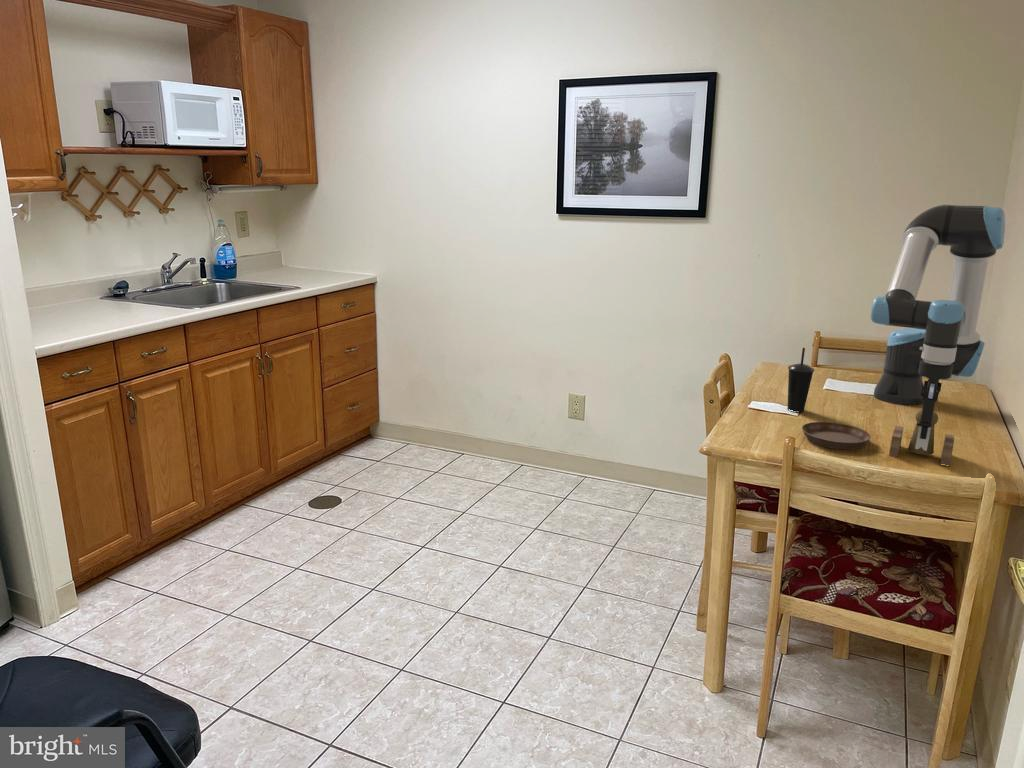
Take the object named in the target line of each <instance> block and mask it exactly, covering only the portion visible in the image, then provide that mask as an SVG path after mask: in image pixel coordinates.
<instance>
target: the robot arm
mask: <svg viewBox="0 0 1024 768" xmlns="http://www.w3.org/2000/svg"><path fill="white" fill-rule="evenodd" d="M1005 214H1006V213H1005V211H1004V209H1003V208H1001V207H996V206H988V205H957V204H956V205H955V204H951V205H950V204H940V205H937V206H932V207H931V208H929V209H927V210H924V211H923V212H921V213H919V214H918V215H917V216H915V218H913V219H912V221H910V222H909V223H908V225H907V227H906V228H905V230H904V232H903V235H902V236H901V237H902V239H901V243H902V249H901V250H900V254H899V257H898V260H897V261H896V265H895V268H894V271H893V273H892V276H891V279H890V281H889V284H888V287H887V290H886V292H885V295H882V296H881V295H879V296H876V297H875V298H874V299H873V302H872V304H871V305H872V306H871V311H870V320H871V322H873V323H874V324H878V325H884V326H887V327H888V326H891V327H892V326H893V327H899V328H901V329H896V330H893V331H891V333H890V334H889V337H888V341H887V343H886V353H885V358H884V363H883V365H884V366H883V371H882V374H881V375H880V376H881V377H880V378H879V380H878V382H877V383H876V385H875V387H874V391H873V396H874V398H877V400H878V399H879V400H880V401H884V402H888V403H892V404H897V405H898V404H899V405H908V406H909V405H910V406H913V405H915V406H917V405H921V404H923V405H922V406H923V407H922V410H923V411H922V416H921V422H920V423H917V422H916V423H917V426H919V429H918V435H917V441H916V446H915V449H919V448H920V447H922V449H923V450H925V451H927V446H928V441H929V435H930V430H931V425H932V424H931V421H932V416H933V412H934V411H935V404H936V402H938V400H939V395H940V392H941V389H942V385H943V383H942V382H940V380H949V379H950V378H952V376H953V377H965V378H968V377H969V378H971V377H973V375H974V374H975V373H976V370H977V367H978V365H979V361H981V360H980V358H981V355H982V353H983V351H984V347H985V344H986V343H985V341H982V340H981V335H980V333H979V332H978V331H977V325H978V320H979V315H980V309H981V302H982V297H983V291H984V285H985V280H986V273H987V269H988V263H989V259H991V258H993V257H995V255H996V253H997V250H998V251H999V250H1001V249H1002V248H1003V247H1004V241H1005V233H1006V215H1005ZM938 246H947V247H950V248H949V253H950V254H951V255H952V256H953V257H954V260H953V264H952V265H953V267H952V273H951V279H950V284H949V292H948V298H947V299H937V300H932V301H928V300H917V296H918V293H919V290H920V288H921V285H922V281H923V279H924V275H925V272H926V269H927V265H928V263H929V261H930V260H929V259H930V257H931V254H932V252H933V251H934V250H935V249H936V248H937V247H938ZM902 327H903V328H902ZM923 377H924V378H928V379H927V380H924V381H923Z"/></svg>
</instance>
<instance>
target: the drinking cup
mask: <svg viewBox="0 0 1024 768" xmlns="http://www.w3.org/2000/svg"><path fill="white" fill-rule="evenodd" d="M805 352H806V348H805V347H802V350H801V358H800V363H794V364H791V365H788V366H787V369H788V378H787V379H788V383H787V384H788V385H787V387H788V388H787V410H788V409H790V410H793V411H799V412H798V413H803V412H804V411H805V407H806V404H807V403H806V402H807V399H808V396H809V395H808V394H809V391H810V388H811V387H810V386H811V383H812V378H813V374H814V372H815V368H814V367H812V366H809V365H808V364H805V363H804V358H805Z"/></svg>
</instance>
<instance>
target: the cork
mask: <svg viewBox="0 0 1024 768" xmlns="http://www.w3.org/2000/svg"><path fill="white" fill-rule="evenodd" d="M922 411H923V409H921V410H918V411H917V412H916V413H915V421H916V424H915V427H914V429H913V432H912V436H911V439H910V441H909V444H908V447H907V450H908V451H910V452H912V453H914V454H917V455H925V456H930V455H933V454H934V452H935V451H934V449H935V425H937V423H938V421H939V415H938V413H937V412H935V411H933V416H932V421H931V424H932V425H931V430H930V435H929V441H928V446H927V451H925V450H923V449H922V447H920V448H919V449H915V446H916V441H917V435H918V429H919V426H917V423H920V422H921V416H922Z"/></svg>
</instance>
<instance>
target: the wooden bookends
mask: <svg viewBox="0 0 1024 768" xmlns="http://www.w3.org/2000/svg"><path fill="white" fill-rule="evenodd" d="M904 428H905V427H904V426H901V425H895V427H894V430H893V432H892V435H891V440H890V447H889V454H888V456H889V457H894V458H898V456H899V452H900V449H901V444H902V440H903V434H904ZM954 443H955V435H953V434H950V433H949V434H948V433H947V434H946V433H945V435H944V441H943V446H942V450H941V457H942V458H941V457H940V458H941V459H940V465H941V464H945V465H951V462H952V454H953V451H954Z"/></svg>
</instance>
